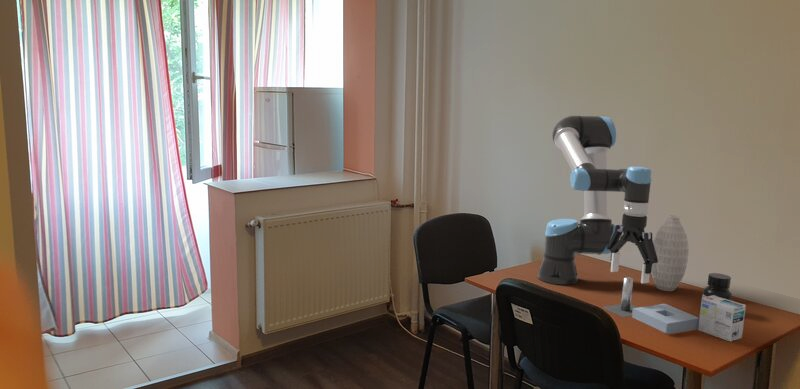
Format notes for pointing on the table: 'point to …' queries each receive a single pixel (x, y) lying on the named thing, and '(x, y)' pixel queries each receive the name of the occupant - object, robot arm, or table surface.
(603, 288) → the table surface
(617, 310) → the mat
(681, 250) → the vase
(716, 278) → the ink bottle
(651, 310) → the socket block
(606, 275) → the table surface
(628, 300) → the pin
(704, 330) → the light bulb box
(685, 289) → the table surface
